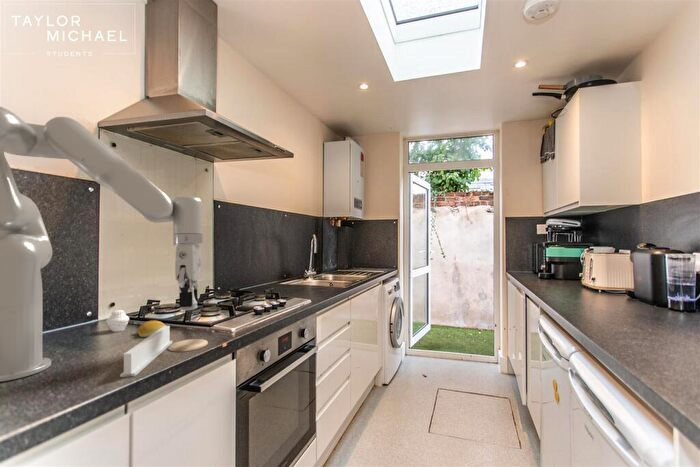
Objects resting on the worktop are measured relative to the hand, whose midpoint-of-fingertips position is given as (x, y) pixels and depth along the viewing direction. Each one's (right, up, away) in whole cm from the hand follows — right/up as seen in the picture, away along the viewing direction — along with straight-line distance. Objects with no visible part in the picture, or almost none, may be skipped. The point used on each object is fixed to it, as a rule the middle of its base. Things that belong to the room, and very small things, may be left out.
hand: (188, 304), depth 95 cm
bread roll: (-18, -13, +13) cm, 25 cm away
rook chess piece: (0, -2, 0) cm, 2 cm away
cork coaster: (0, -12, 0) cm, 12 cm away
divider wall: (-5, -12, -9) cm, 16 cm away
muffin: (-31, -12, +16) cm, 38 cm away
